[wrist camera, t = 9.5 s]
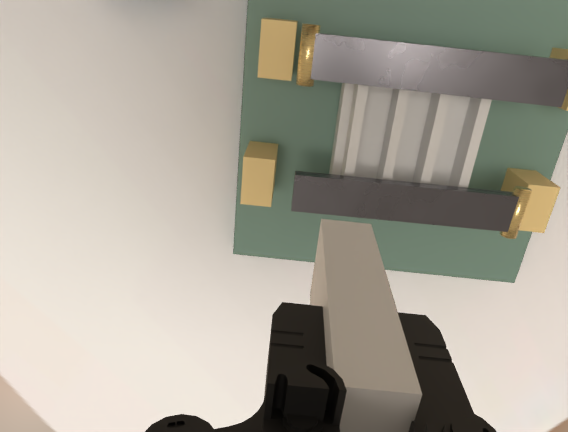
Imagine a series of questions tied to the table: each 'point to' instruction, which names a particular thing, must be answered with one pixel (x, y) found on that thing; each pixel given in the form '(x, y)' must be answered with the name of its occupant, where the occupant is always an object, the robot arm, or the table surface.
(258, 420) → the robot arm
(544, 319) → the table surface
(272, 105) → the board
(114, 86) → the table surface
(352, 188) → the strap
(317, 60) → the strap
